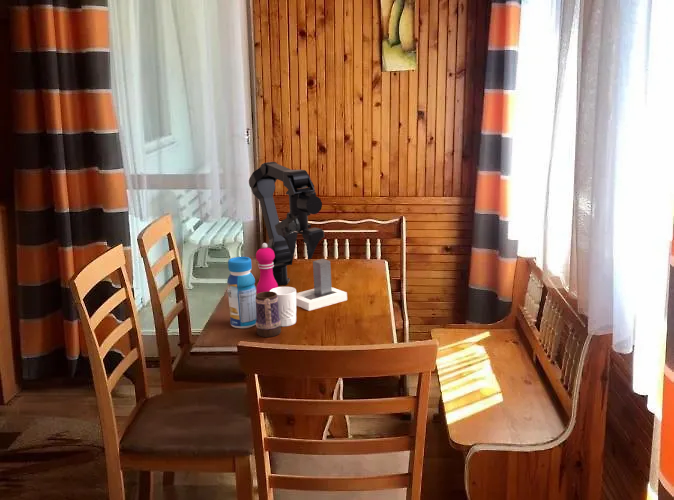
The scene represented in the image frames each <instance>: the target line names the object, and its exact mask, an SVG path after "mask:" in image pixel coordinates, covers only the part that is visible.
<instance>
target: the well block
mask: <svg viewBox="0 0 674 500" xmlns="http://www.w3.org/2000/svg"><path fill="white" fill-rule="evenodd" d="M313 294H314V288H312V289H308V290H304V291H300V292H296V307H298V308H302V309H304V310H306V311H309V312H310V311H314V310H317V309H321V308H324V307H328V306H331V305H335V304H338V303H341V302H346V301H348V292H347V291H344V290H341V289H338V288H335V287H332V294H330V295H326V296H323V297H319V298H315V299H312V300H309V299H307V298H304V297H305V296H309V295H313Z"/></svg>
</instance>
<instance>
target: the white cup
mask: <svg viewBox="0 0 674 500" xmlns="http://www.w3.org/2000/svg"><path fill="white" fill-rule="evenodd" d="M270 292H275V293H276V294H277V297H278V308H279V317H280V320H281V325H280V326H281V327H290V326H293V325H295V324H296V323H297V306H296V293H297V289H296V288H295V287H292V286H278V287H277V288H273V289H271V290H270Z"/></svg>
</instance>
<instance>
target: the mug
mask: <svg viewBox="0 0 674 500" xmlns="http://www.w3.org/2000/svg"><path fill="white" fill-rule="evenodd" d="M255 299H256V325H255V326H256V334H257V336H259V337H263V338H271V337H275V336H278V335H280V334H281V332H282V328H281V327H282V326H280V325H281V320H280V317H279V308H278V297H277V294H276V293H275V292H270V291H267V292H260V293H258V294H257V293H256V298H255Z"/></svg>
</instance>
